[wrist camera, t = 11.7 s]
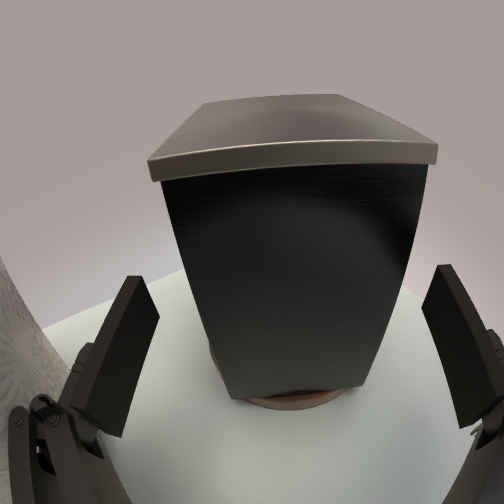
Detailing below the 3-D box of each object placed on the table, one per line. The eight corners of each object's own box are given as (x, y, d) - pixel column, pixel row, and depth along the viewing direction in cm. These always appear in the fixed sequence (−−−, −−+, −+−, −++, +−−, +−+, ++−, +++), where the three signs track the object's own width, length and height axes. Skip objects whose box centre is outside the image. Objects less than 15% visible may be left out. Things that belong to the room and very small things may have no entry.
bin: (328, 259, 29) (332, 91, 19) (366, 387, 17) (439, 143, 8) (234, 267, 29) (207, 100, 19) (227, 402, 18) (145, 160, 8)
